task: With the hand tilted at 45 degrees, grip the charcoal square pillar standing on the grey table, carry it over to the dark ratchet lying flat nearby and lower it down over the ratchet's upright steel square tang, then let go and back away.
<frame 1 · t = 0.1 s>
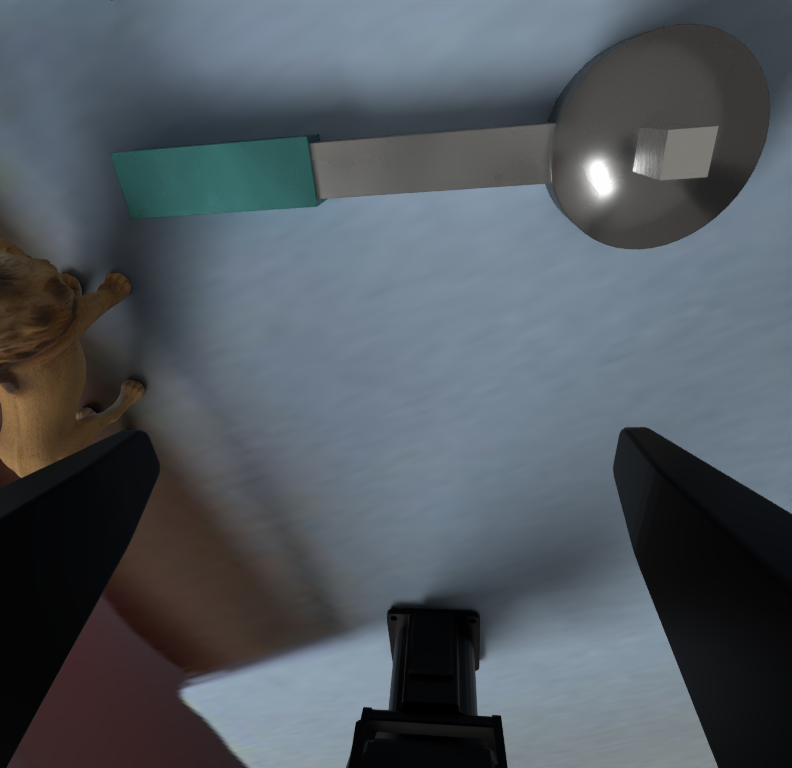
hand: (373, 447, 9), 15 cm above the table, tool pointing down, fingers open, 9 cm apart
lion figurine: (95, 330, 26), on the table
ratchet: (633, 143, 19), on the table
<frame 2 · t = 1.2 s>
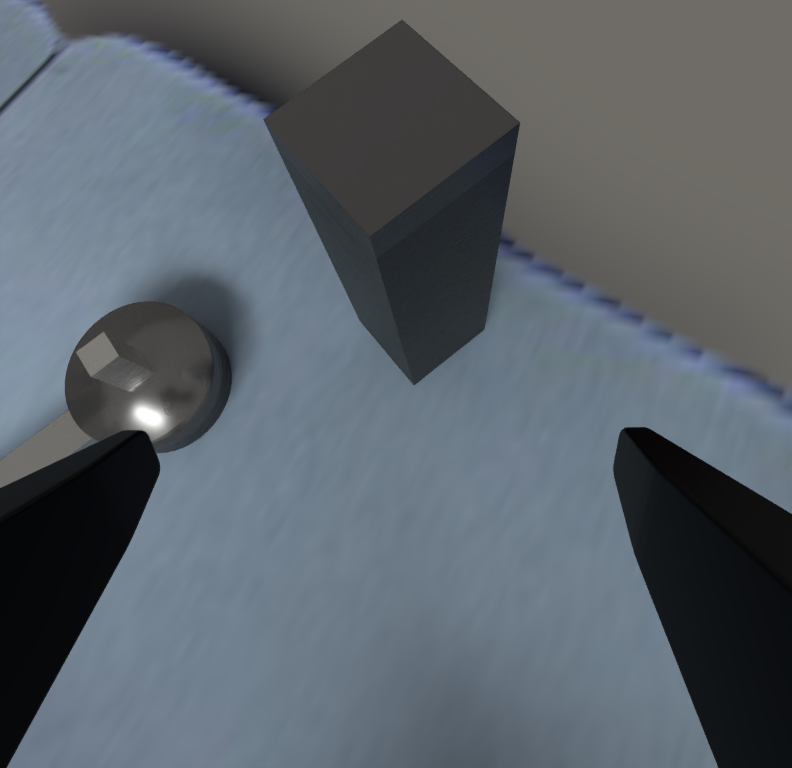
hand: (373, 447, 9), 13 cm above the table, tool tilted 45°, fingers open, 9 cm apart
charcoal square pillar: (420, 325, 24), on the table
ratchet: (166, 384, 25), on the table
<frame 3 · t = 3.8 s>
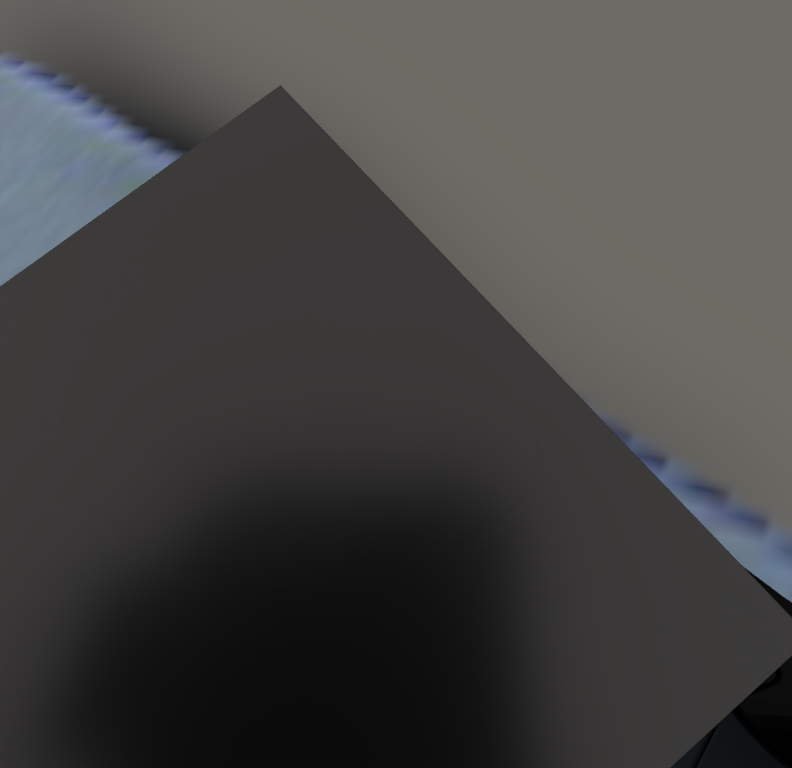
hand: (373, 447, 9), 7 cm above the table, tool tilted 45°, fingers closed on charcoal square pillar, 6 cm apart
charcoal square pillar: (405, 519, 15), on the table, touching gripper
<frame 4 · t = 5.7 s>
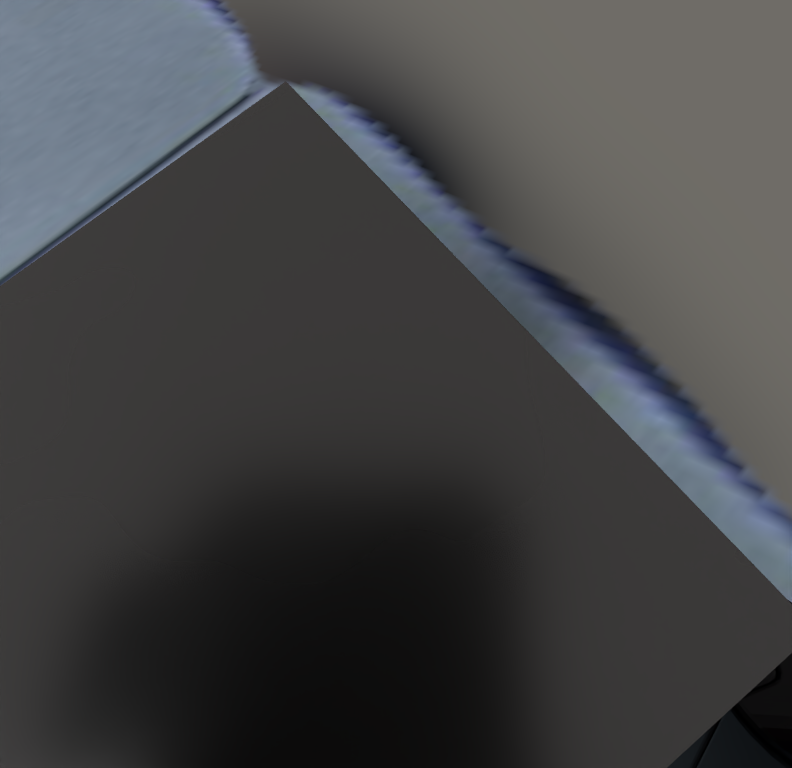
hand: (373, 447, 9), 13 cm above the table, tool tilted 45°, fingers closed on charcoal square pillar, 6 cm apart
charcoal square pillar: (406, 518, 15), point 7 cm above the table, touching gripper
when the fingers open (9 cm above the table, at t = 7.5 s): charcoal square pillar stays where it is, resting on ratchet.
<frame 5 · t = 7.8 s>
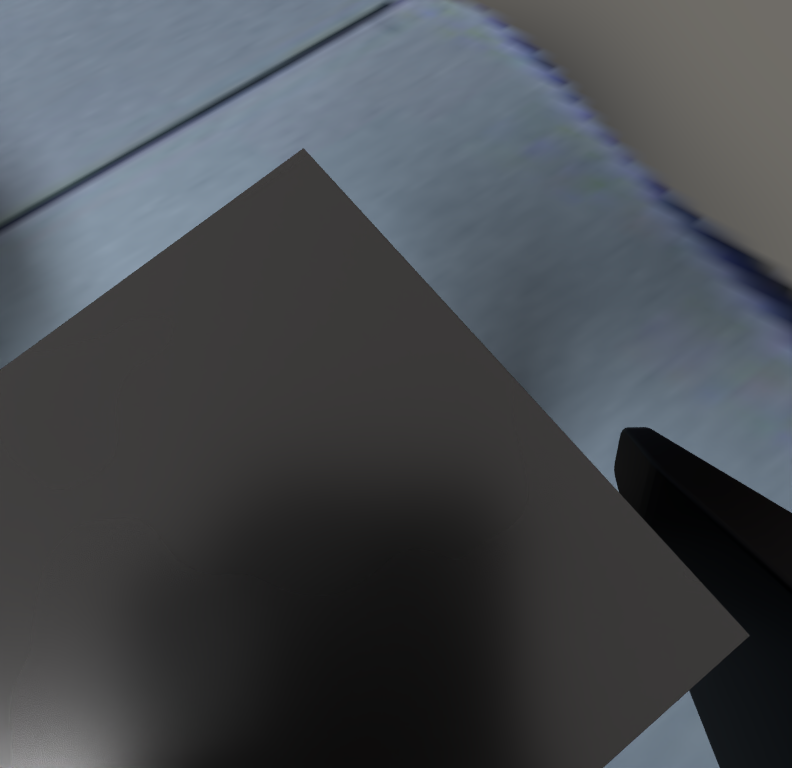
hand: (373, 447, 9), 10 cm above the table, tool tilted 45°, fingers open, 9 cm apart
charcoal square pillar: (406, 521, 16), point 2 cm above the table, touching ratchet
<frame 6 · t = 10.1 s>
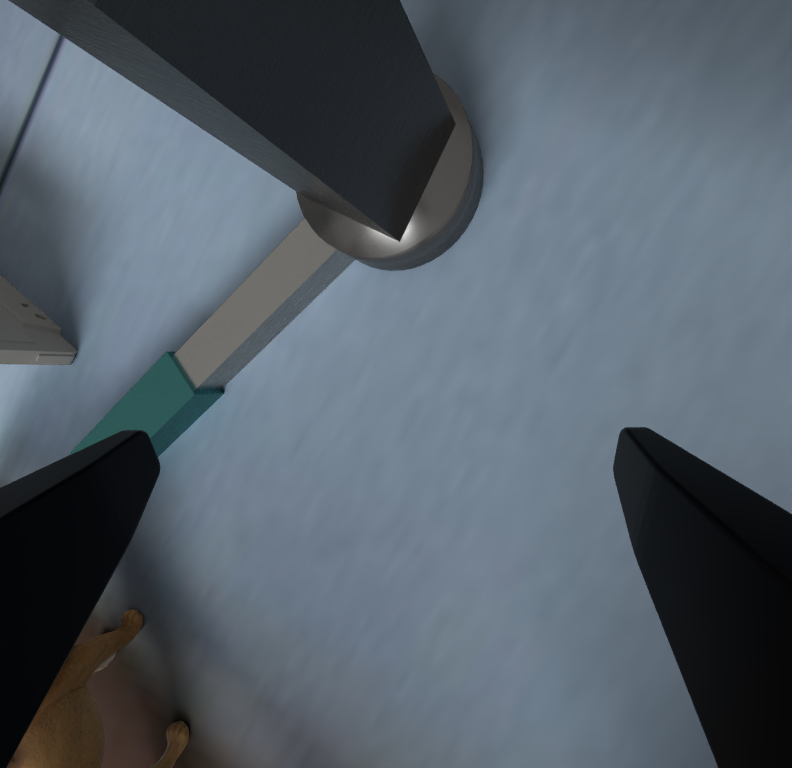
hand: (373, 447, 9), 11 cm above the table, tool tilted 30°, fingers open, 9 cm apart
cassette: (20, 304, 29), on the table
lion figurine: (138, 682, 26), on the table
charcoal square pillar: (376, 163, 18), point 2 cm above the table, touching ratchet
ratchet: (399, 186, 20), on the table, touching charcoal square pillar
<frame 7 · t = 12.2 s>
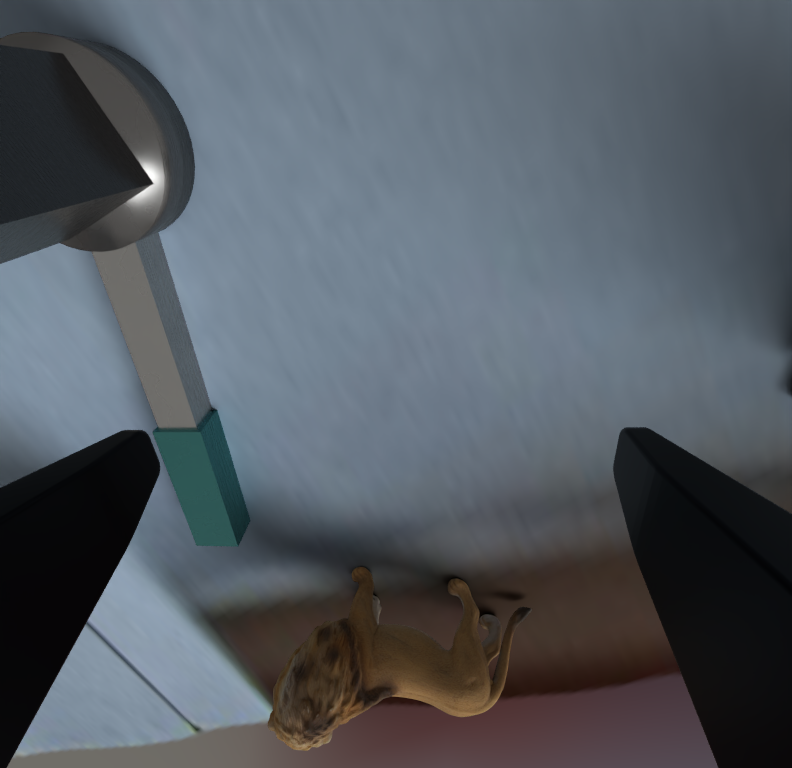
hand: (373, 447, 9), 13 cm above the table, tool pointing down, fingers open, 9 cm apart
lion figurine: (407, 593, 32), on the table
charcoal square pillar: (67, 154, 17), point 2 cm above the table, touching ratchet
ratchet: (108, 147, 19), on the table, touching charcoal square pillar
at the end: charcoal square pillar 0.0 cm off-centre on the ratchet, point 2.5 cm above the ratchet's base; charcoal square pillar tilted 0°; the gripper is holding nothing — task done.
